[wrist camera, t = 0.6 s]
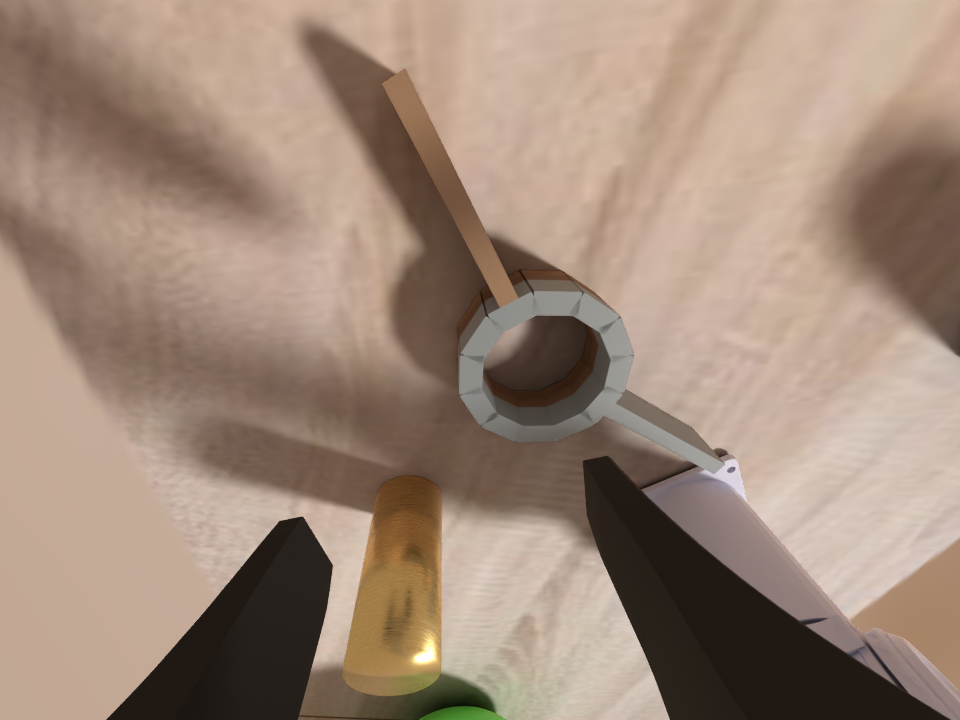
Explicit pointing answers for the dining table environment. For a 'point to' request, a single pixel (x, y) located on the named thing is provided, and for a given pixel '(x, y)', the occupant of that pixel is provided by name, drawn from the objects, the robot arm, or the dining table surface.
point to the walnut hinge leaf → (480, 244)
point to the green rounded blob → (462, 714)
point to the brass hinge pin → (399, 593)
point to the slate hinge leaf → (593, 396)
